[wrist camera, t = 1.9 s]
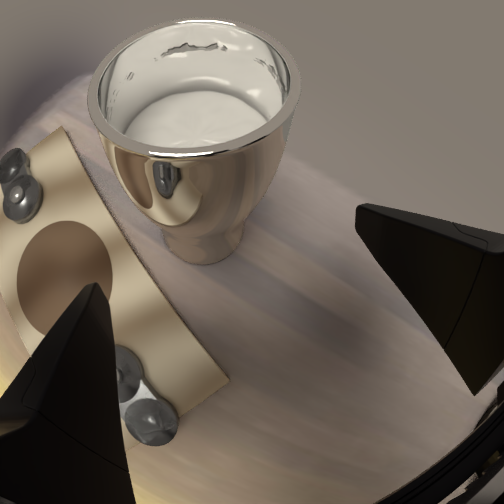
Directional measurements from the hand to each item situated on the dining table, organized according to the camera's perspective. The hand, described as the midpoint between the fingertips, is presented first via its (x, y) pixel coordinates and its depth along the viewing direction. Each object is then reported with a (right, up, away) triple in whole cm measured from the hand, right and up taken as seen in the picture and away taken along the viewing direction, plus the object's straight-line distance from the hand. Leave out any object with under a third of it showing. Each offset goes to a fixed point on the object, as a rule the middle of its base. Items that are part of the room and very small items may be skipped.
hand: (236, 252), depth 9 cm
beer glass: (-3, +2, +13) cm, 13 cm away
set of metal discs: (-14, -2, +9) cm, 17 cm away
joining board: (-14, -2, +10) cm, 17 cm away
